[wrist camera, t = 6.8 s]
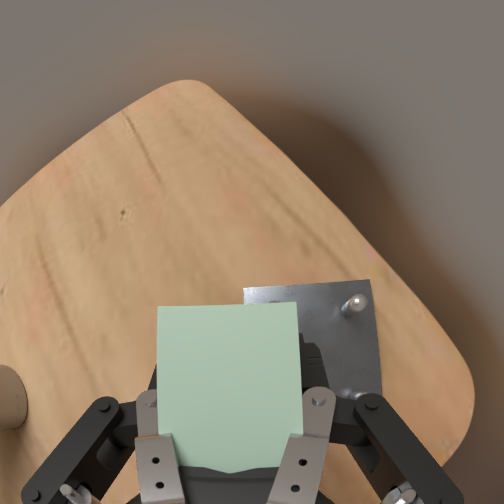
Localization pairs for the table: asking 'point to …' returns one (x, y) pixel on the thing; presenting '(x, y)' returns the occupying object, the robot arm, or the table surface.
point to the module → (229, 383)
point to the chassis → (335, 330)
